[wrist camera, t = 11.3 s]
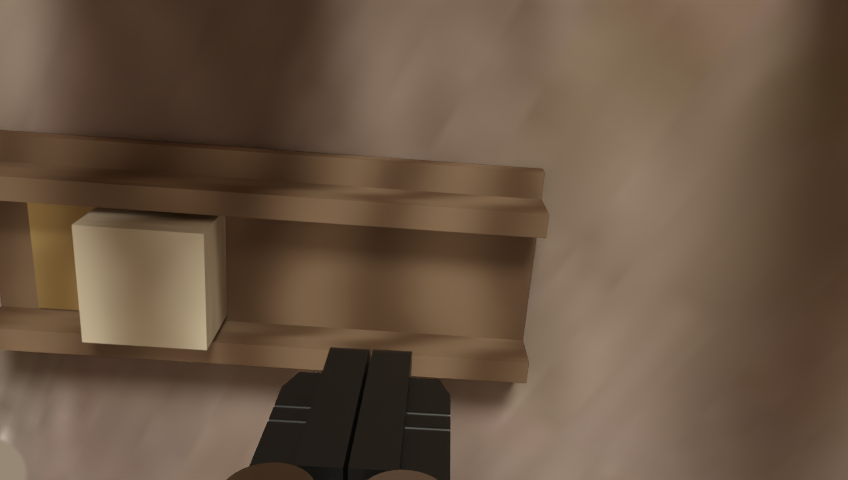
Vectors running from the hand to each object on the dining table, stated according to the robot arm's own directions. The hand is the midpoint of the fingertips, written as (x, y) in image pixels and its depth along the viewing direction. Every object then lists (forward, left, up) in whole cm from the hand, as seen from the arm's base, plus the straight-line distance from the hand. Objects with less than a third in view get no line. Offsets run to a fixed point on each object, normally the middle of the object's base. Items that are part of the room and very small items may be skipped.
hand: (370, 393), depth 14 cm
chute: (+7, +8, -25) cm, 27 cm away
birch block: (+12, +8, -24) cm, 28 cm away
